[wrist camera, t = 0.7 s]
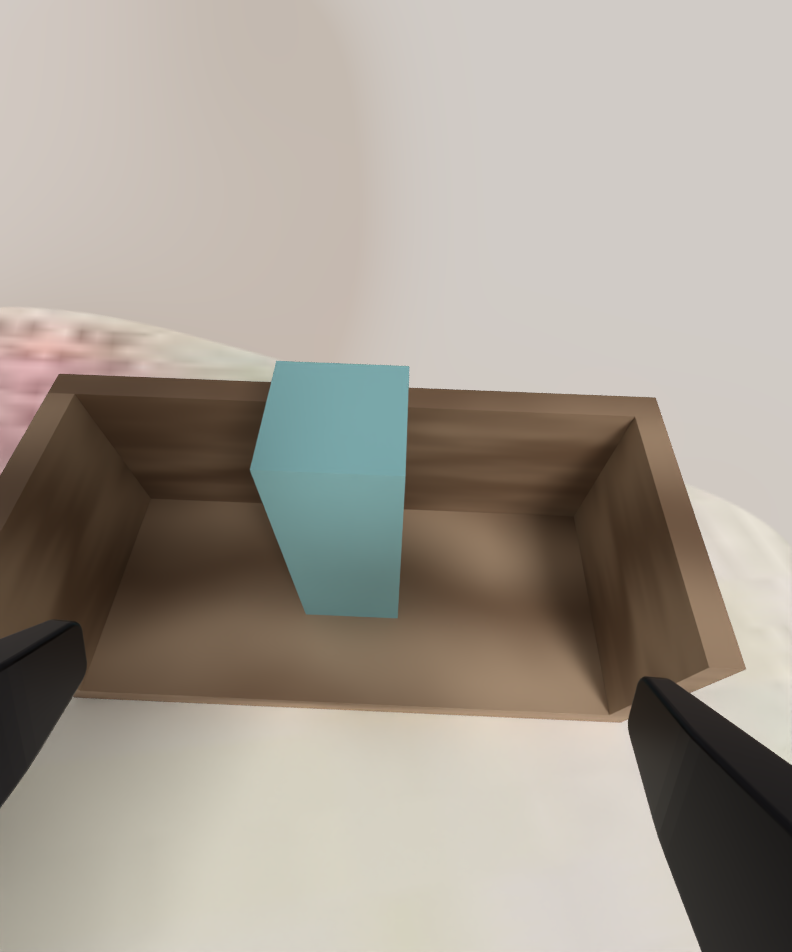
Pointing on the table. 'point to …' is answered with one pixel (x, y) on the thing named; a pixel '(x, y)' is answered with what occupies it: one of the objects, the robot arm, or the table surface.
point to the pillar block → (336, 482)
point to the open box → (422, 556)
